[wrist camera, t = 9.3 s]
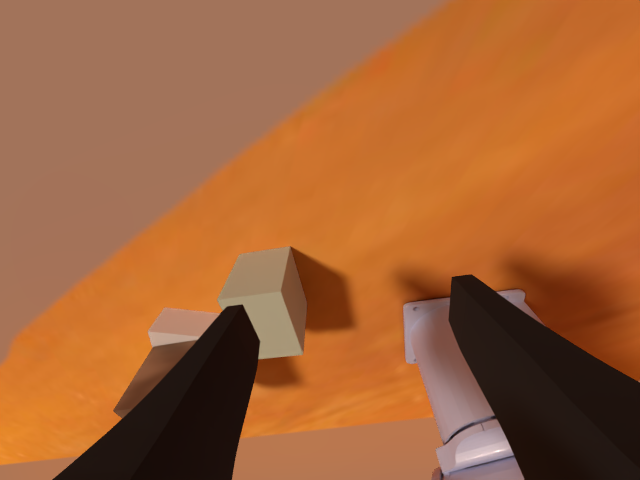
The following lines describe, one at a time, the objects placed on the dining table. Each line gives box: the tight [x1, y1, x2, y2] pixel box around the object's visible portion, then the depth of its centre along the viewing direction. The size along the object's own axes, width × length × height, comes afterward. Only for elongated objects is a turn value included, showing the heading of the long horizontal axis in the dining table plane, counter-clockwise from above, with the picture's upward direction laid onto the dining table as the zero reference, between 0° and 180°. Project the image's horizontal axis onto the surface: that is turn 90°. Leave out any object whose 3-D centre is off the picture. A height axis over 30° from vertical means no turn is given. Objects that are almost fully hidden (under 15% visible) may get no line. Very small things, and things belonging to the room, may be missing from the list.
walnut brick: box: [113, 340, 197, 418], centre depth 21 cm, size 4×6×5 cm, turn 13°
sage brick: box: [217, 246, 307, 359], centre depth 20 cm, size 4×6×5 cm, turn 11°
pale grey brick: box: [148, 308, 220, 347], centre depth 25 cm, size 6×8×3 cm
